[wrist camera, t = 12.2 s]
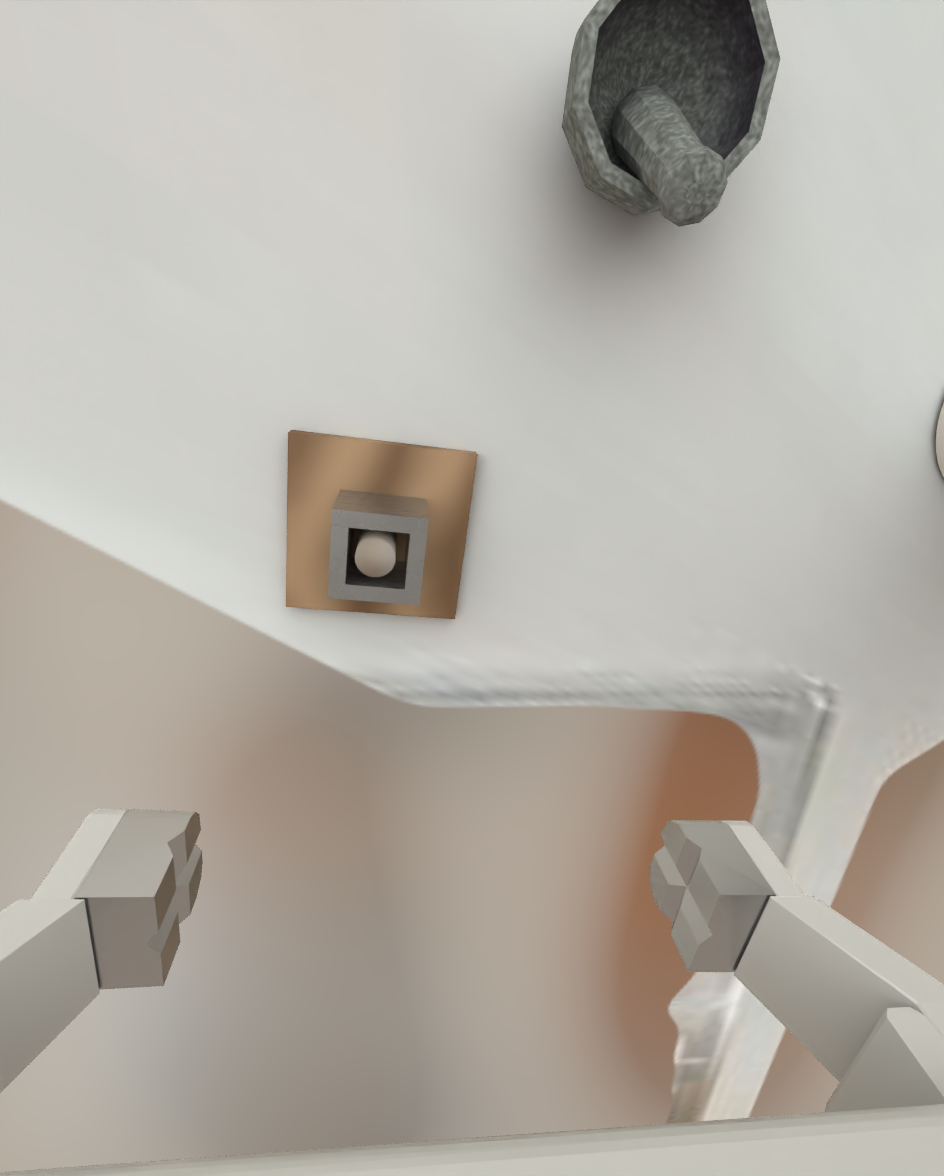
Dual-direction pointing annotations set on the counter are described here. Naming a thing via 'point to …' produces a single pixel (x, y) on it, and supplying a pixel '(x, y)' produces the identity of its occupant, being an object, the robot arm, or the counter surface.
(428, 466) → the post block
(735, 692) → the counter surface
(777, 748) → the counter surface
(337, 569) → the square sleeve
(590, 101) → the mortar and pestle
